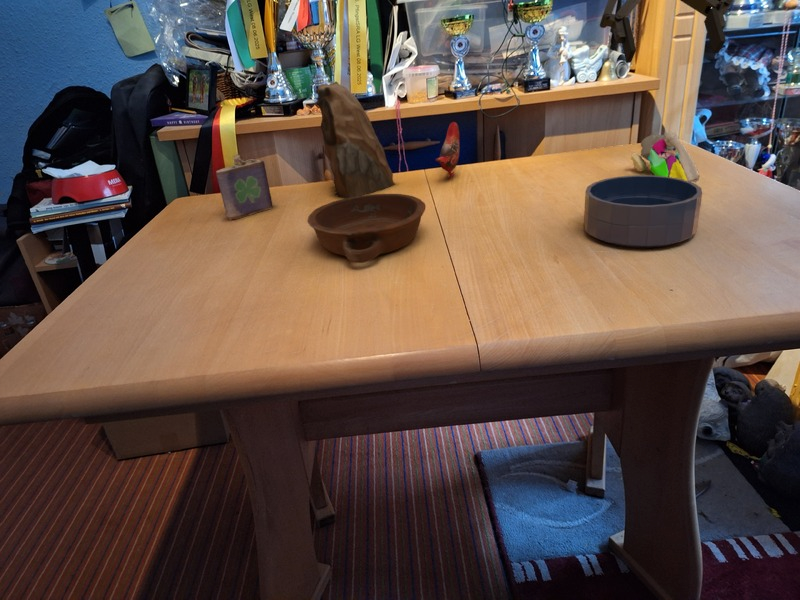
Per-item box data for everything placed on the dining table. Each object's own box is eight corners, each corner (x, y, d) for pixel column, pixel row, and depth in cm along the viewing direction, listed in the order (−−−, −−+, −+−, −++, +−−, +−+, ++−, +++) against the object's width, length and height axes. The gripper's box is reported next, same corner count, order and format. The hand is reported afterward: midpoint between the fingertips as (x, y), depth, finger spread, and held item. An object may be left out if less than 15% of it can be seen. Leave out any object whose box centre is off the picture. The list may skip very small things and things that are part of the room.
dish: (424, 212, 94) (421, 183, 92) (432, 264, 74) (429, 228, 72) (321, 223, 95) (316, 194, 93) (303, 276, 75) (296, 242, 73)
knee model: (667, 235, 87) (635, 172, 108) (723, 213, 84) (679, 153, 104) (649, 187, 83) (619, 131, 104) (707, 162, 80) (664, 109, 100)
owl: (347, 201, 105) (330, 88, 96) (309, 192, 113) (290, 88, 104) (397, 184, 112) (385, 77, 103) (357, 177, 120) (344, 78, 111)
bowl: (651, 209, 85) (655, 170, 82) (720, 239, 72) (728, 194, 70) (565, 225, 82) (566, 185, 80) (621, 259, 70) (625, 213, 67)
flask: (230, 221, 101) (215, 161, 96) (224, 218, 103) (209, 160, 98) (275, 207, 106) (264, 150, 101) (268, 205, 108) (256, 149, 103)
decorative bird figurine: (465, 168, 118) (462, 119, 113) (445, 193, 103) (442, 138, 99) (451, 168, 119) (449, 120, 114) (430, 193, 104) (426, 138, 99)
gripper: (714, -39, 98) (744, 60, 91) (569, -22, 99) (589, 76, 93) (735, -80, 91) (769, 24, 84) (578, -61, 92) (600, 43, 85)
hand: (675, 52), depth 88 cm, fingers open, 13 cm apart
